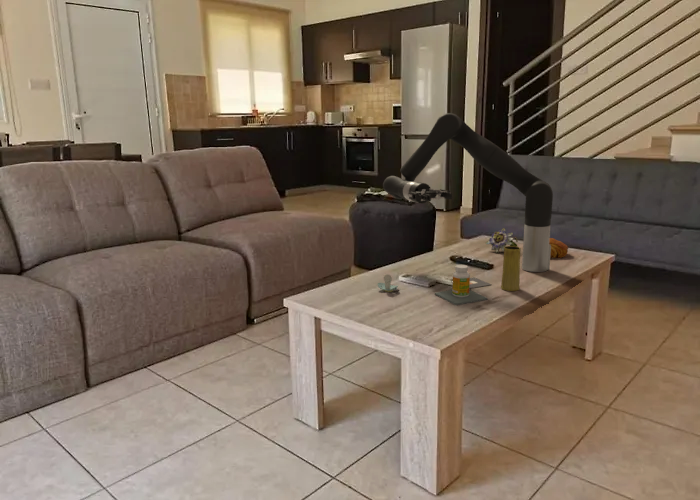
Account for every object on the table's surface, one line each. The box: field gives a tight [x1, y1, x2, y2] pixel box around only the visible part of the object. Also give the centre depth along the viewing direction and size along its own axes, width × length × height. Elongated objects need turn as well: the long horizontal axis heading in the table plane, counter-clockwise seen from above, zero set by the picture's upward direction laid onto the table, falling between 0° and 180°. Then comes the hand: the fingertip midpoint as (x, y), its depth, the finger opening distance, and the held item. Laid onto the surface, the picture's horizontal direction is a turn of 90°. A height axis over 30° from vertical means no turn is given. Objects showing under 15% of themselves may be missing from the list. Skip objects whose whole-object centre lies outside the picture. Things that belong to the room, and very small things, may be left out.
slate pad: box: [434, 289, 488, 306], centre depth 176 cm, size 12×12×1 cm
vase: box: [500, 245, 521, 292], centre depth 183 cm, size 6×6×14 cm
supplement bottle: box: [451, 264, 471, 297], centre depth 175 cm, size 5×5×10 cm
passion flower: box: [485, 227, 519, 254], centre depth 235 cm, size 11×11×12 cm
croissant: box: [549, 237, 569, 259], centre depth 228 cm, size 14×16×8 cm
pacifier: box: [376, 273, 400, 293], centre depth 185 cm, size 7×6×6 cm
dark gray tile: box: [469, 276, 492, 290], centre depth 191 cm, size 10×10×1 cm
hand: (440, 197), depth 188 cm, fingers open, 8 cm apart
